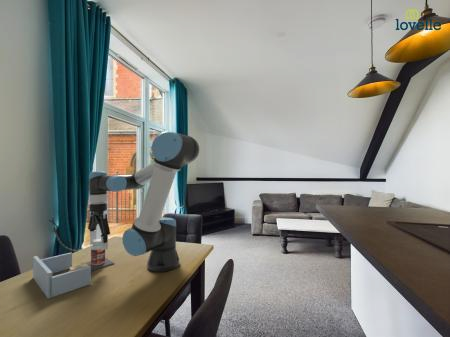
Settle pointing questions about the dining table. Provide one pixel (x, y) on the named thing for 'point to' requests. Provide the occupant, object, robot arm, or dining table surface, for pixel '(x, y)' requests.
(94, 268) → the mat
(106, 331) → the dining table surface
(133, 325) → the dining table surface
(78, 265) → the offcut top
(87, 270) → the open box
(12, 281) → the dining table surface
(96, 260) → the pill bottle
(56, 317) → the dining table surface
